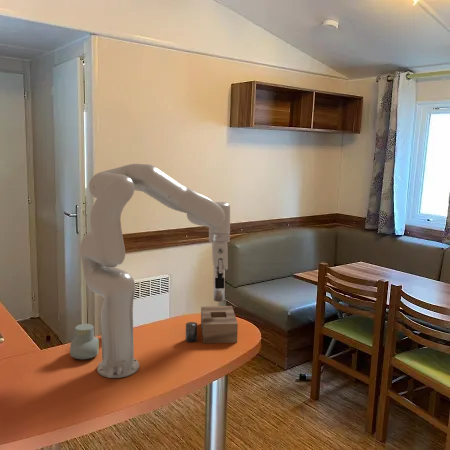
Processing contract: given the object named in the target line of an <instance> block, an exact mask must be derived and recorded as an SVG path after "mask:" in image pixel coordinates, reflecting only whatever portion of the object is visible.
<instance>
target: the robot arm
mask: <svg viewBox="0 0 450 450" xmlns="http://www.w3.org/2000/svg"><path fill="white" fill-rule="evenodd" d="M88 188H89V192H90V194H91V196H92V197H94V198H95V201H94V203H93V205H92V207H91V209H90V214H89V215H90V216H89V223H90V231H89V232H87V234H85V235H84V236H83V238H82V239H81V242H80V244H79V245H80V247H79V255H80V260H81V261H80V262H81V265H82V271H83V275H84V276H83V277H84V280H85V284H86V286H87V288H88V289H89V290H90V291H91V292H92V293H93V294H94V293H95V294H96V295H98V296H100V297H101V298H103V303H102V306H101V309H100V310H101V311H100V333H101V335H100V337H101V361H100V362H99V363H98V365H97V369H96V370H97V374H99V375H100V376H102V377H104V378H108V379H121V378H126V377H129V376H131V375H133V374H135V373H136V372H138V370H139V369H140V363H139V360H137V359H136V358H135V355H134V354H135V353H134V352H135V351H134V350H135V349H134V346H135V345H134V299H135V294H136V283H135V280H134V278H133V276H132V275H131V274H130V273H128V272H127V271H125V270H123V269H120V268H118V267H119V266H120V265H122V264H123V262H124V261H125V257H126V248H125V242H124V236H123V235H124V234H123V231H122V230H123V229H122V223H121V216H122V212H123V210H124V208H125V206H126V205H127V204H128V203H129V202H130V200H131V198H133V195H134V193H135V191H138V192H143V193H144V194H146V195H148V196H149V197H151V198H153V199H154V200H156V201H157V202H159V203H160V204H162V205H163V206H166V207H167V208H169V209H172V210H174V211H177V212H179V213H180V212H181V213H184V214H186V218H187V220H188V221H189V222H190V223H192V224H193V225H196V226H197V225H198V226H201V227H206V228H208V242H209V243H211V254H212V265H213V270H214V269H215V270H216V277H215V288H216V289H221V288H224V268H225V271H227V270H228V269H229V260H228V259H229V257H228V253H229V252H228V251H229V250H228V243H229V242H231V241H230V240H231V205H230V204H229V203H228V202H226V201H225V202H224V201H214V200H212V199H210V198H208V197H207V196H205V195H203V194H201V193H199V192H197V191H195V190H193V189H191V188H189V187H187V186H185V185H183V184H182V183H179V182H178V181H177V180H176V179H174V178H173V177H171V176H169V174H167V173H166V172H164V171H163V170H161V169H160V168H158V167H156V166H155V165H152V164H145V163H130V164H126V165H122V166H119V167H114V168H110V169H107V170H103V171H100V172H97V173H95V174H94V175H93V176H92V177H91V178H90V180H89V183H88ZM217 268H219V269H217ZM218 271H219V272H218Z"/></svg>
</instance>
